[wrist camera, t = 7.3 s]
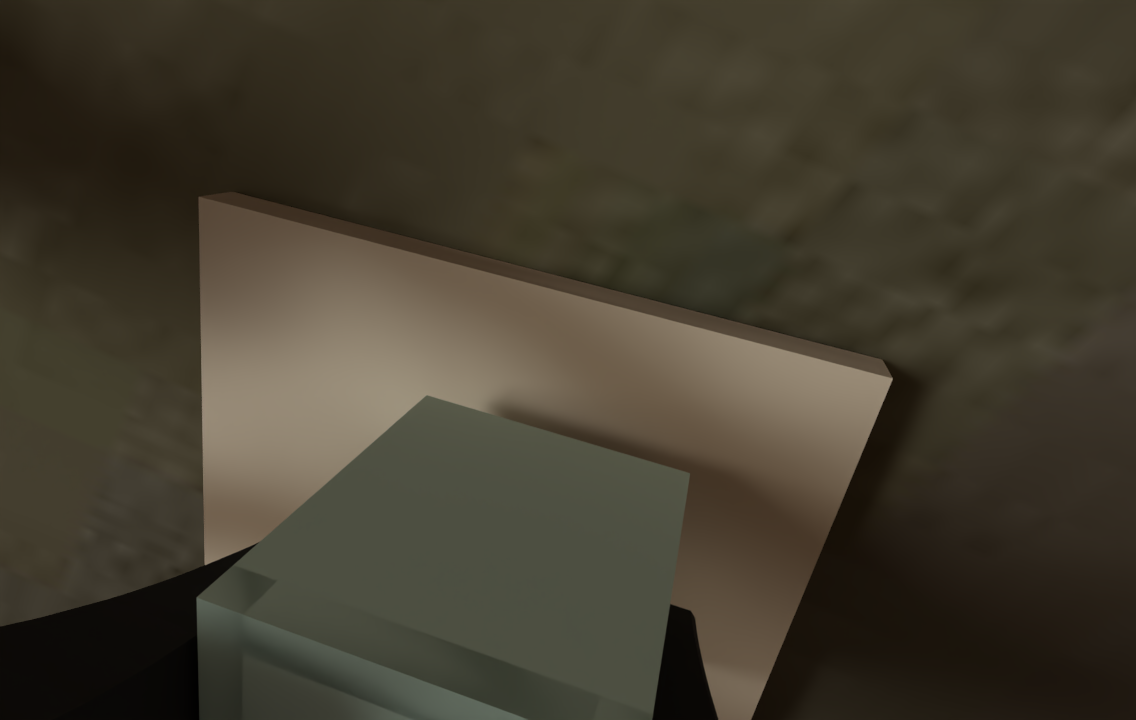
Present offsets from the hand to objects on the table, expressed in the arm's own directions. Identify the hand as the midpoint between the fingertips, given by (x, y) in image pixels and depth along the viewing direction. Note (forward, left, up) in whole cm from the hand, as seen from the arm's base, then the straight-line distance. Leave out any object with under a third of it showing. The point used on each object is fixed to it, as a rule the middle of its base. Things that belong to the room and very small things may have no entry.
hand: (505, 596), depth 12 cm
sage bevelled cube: (0, 0, -2) cm, 2 cm away
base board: (-3, +1, -4) cm, 5 cm away
